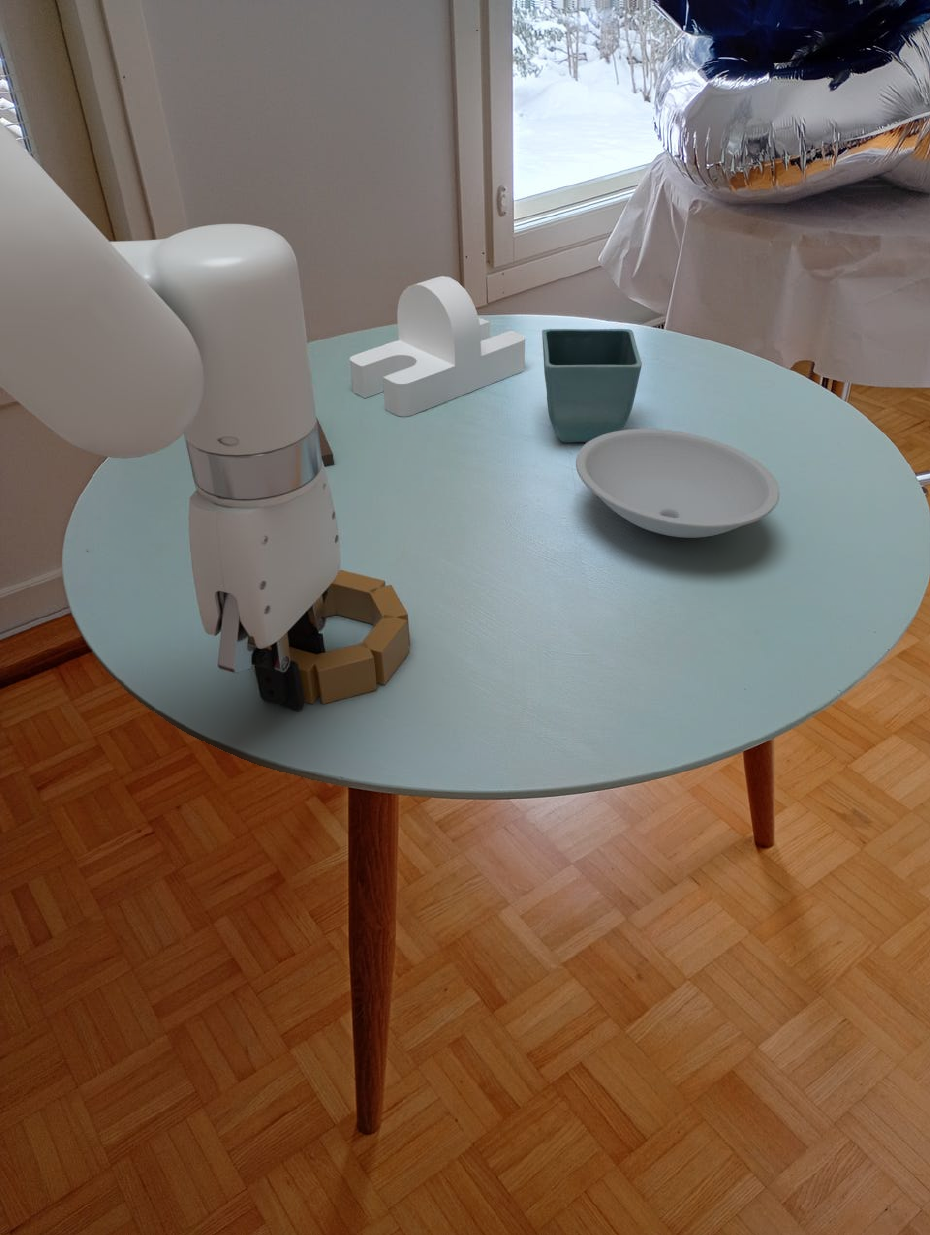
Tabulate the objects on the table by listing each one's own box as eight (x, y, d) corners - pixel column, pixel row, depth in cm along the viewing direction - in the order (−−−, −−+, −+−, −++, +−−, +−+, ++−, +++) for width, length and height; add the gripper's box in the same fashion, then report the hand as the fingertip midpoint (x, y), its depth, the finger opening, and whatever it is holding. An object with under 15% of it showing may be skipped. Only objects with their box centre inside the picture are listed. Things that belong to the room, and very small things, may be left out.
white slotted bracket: (529, 368, 110) (531, 272, 103) (402, 418, 101) (396, 316, 94) (472, 344, 116) (471, 251, 109) (348, 389, 107) (338, 291, 100)
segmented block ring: (270, 718, 66) (263, 685, 64) (238, 623, 74) (232, 591, 73) (426, 676, 69) (424, 644, 67) (379, 590, 78) (376, 558, 76)
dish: (535, 517, 86) (537, 466, 82) (640, 460, 93) (644, 411, 90) (703, 603, 75) (712, 549, 72) (805, 531, 83) (816, 479, 80)
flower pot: (634, 453, 94) (643, 364, 89) (542, 453, 94) (545, 365, 89) (624, 412, 101) (632, 327, 96) (538, 412, 101) (541, 328, 96)
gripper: (276, 388, 64) (308, 611, 75) (112, 508, 53) (180, 751, 64) (377, 407, 62) (395, 634, 73) (229, 537, 50) (278, 784, 61)
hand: (295, 687), depth 68 cm, fingers closed
